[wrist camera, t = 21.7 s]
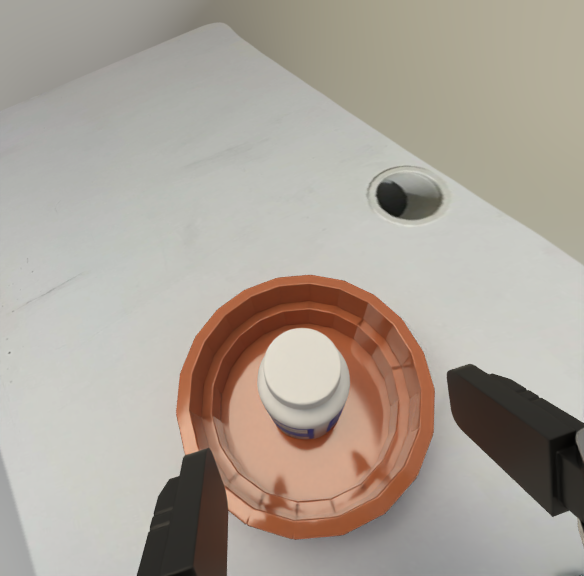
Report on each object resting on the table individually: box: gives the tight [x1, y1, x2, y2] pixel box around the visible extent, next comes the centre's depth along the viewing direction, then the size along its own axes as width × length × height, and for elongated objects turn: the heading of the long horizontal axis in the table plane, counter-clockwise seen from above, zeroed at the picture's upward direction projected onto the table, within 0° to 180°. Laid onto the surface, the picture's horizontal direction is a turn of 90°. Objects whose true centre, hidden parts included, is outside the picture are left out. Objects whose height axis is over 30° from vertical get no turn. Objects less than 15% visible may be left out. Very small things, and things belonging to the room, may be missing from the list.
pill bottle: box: [257, 328, 350, 440], centre depth 21 cm, size 5×5×10 cm
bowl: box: [176, 275, 435, 540], centre depth 23 cm, size 16×16×6 cm
